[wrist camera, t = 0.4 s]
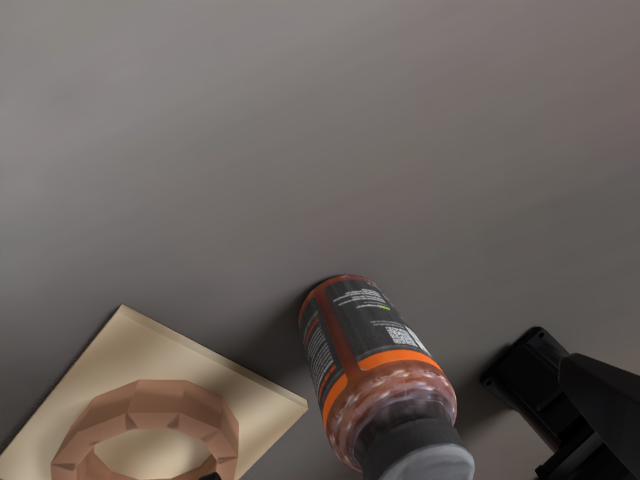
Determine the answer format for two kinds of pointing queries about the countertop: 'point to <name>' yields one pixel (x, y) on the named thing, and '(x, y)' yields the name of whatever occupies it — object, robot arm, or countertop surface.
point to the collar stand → (150, 412)
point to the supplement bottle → (379, 386)
